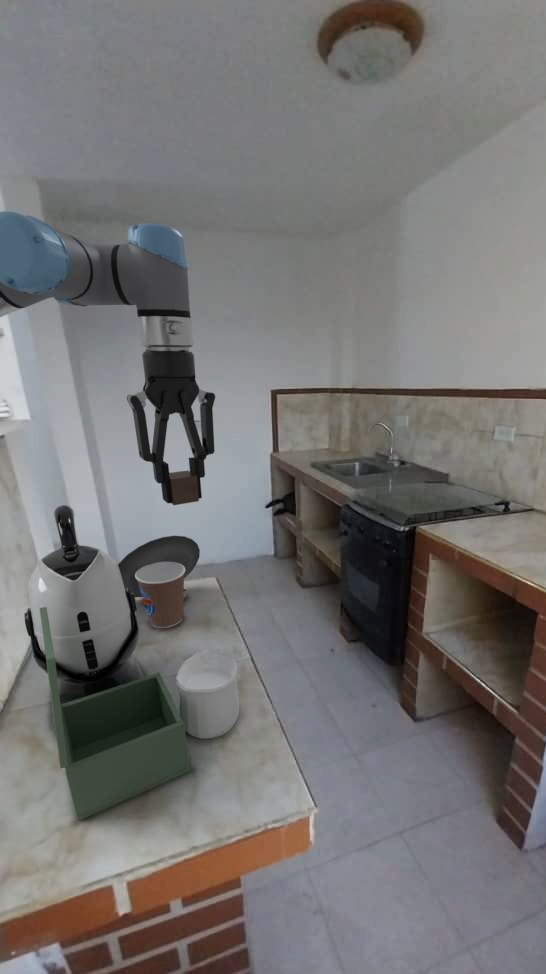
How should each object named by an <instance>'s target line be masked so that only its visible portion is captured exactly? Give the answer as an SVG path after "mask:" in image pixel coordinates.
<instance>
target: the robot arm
mask: <svg viewBox="0 0 546 974" xmlns="http://www.w3.org/2000/svg"><path fill="white" fill-rule="evenodd" d="M126 240H127V243H121V244H95V243H94V244H93V243H89V242H87V241H84V240H82V239H80V238H78V237H75V236H73V235H71V234H68V233H67V232H64V231H62V230H60V229H58V228H56V227H53V226H52V225H49V224H47V223H45V221H43V220H41V219H38V218H36V217H35V216H31V215H25V214H21V213H19V212H14V211H9V210H2V211H0V318H2V317H5V316H7V315H10V314H12V313H15V312H17V311H19V310H22V309H25V308H28V307H30V306H33V305H35V304H38V303H41V302H42V301H45V300H48V299H50V298H53V299H54V300H55V301H56V302H58V303H59V304H62V305H67V306H68V305H69V306H79V307H83V308H85V307H88V306H135V307H136V314H137V321H138V330H139V339H140V341H139V342H140V346H141V347H142V348H143V347H144V348H145V351H144V350H143V352H142V354H141V355H142V365H143V374H144V384H143V387H142V390H141V391H139V392H137V393H134V394H128V395H127V396H126V401H127V403H128V405H129V407H130V408H131V411H132V415H133V422H134V429H135V435H136V442H137V449H138V455H139V458H140V459H142V460H143V461H145V462H149V463H151V465H152V470H153V478H154V479H153V480H155V483H157V484H160V486H161V495H162V500H163V501H164V502H165V503H167V505H168V504H172V495H171V486H170V476H169V473H170V468H169V463H168V462H166V461H165V460H164V456H165V448H166V440H167V439H166V438H167V429H168V421H169V420H170V415H174V414H179V417H180V418H181V422H182V425H183V428H184V431H185V434H186V437H187V441H188V443H189V447H190V450H191V453H192V456H191V457H188V466H189V471H190V472H191V473H193V474H194V475H196V476H197V483H198V494H199V500H200V499H203V497H202V496H203V495H202V484H201V478H205V476H206V470H205V469H206V468H205V460H206V459H207V456H210V455H213V454H214V453H215V433H214V431H215V430H214V414H213V413H214V412H213V407H214V404H215V400H216V394H215V393H214V392H211V391H206V390H203V389H201V388H200V386H199V385H198V382H197V380H196V364H195V355H194V353H193V351H190V348H192V347H193V346H194V343H193V341H194V340H193V328H192V318H191V306H190V291H189V273H188V272H189V266H188V265H187V264H188V263H187V258H186V257H187V256H186V250H185V242H184V237H183V235H182V234H181V233H180V232H179V230H177V229H176V228H174V227H171V226H170V225H169V226H168V225H164V224H158V223H140V224H133V225H131V226H130V227H129V228H128V229H127V239H126ZM197 398H198V399H197ZM146 400H148V401H149V402H150V403H151V405H152V406H153V407H154V427H153V437H152V446H150V438H149V431H148V424H147V417H146V412H145V409H144V408H145V407H146V405H147V403H146ZM196 400H198V403H199V414H200V415H199V417H200V431H201V438H200V434H199V431H198V428H197V425H196V422H195V414H194V411H193V408H192V406H193V405H194V403H195V401H196Z"/></svg>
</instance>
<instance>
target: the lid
mask: <svg viewBox="0 0 546 974" xmlns="http://www.w3.org/2000/svg"><path fill="white" fill-rule="evenodd" d="M40 616H41V624H42V632H43V639H44V647H45V655H46V662H47V670H48V674H47V677H48V685H49V693H50V700H51V709H52V708H53V712H52V717H53V716H54V721H53V724H54V723H55V725H54V729H55V737H56V744H57V752H58V759H59V760H58V761H59V764H60V765H59V766H60V769H65V767H68V761H67V753H66V745H65V737H64V729H63V721H62V712H61V704H60V696H59V688H58V680H57V672H56V664H55V656H54V650H53V644H52V638H51V632H50V626H49V620H48V613H47V608H46V607H43V608H40Z"/></svg>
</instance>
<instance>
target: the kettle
mask: <svg viewBox="0 0 546 974" xmlns="http://www.w3.org/2000/svg"><path fill="white" fill-rule="evenodd" d="M75 515H76V513H75V510H74V508H73V507H71V506H70V505H67V504H61V505H58V506H57V507H55V509H54V511H53V517H54V520H55V524H56V525H55V526H56V528H57V532H58V536H59V540H60V545H61V547H60V548H57V549H56V550H54V551H51V552H50V553H48V554H47V555H45V556H44V557H42V558H40V559H39V562H38V564H36V566H35V568H34V569H33V570H32V572H31V574H30V577H29V580H28V599H29V606H30V607H28V608H27V610H26V612H24V615H23V616H24V624H25V628H26V633H27V635H28V637H29V638H30V642H31V649H32V655H33V658H34V662H35V663H36V665H37V666H38V667H39V668H40V669H41V670H42V671H43V672H44V673H46V674H47V675H48V670H47V662H46V655H45V647H44V639H43V632H42V624H41V616H40V608H43V607H46V608H47V613H48V620H49V626H50V632H51V638H52V644H53V650H54V656H55V664H56V672H57V680H58V688H59V696H60V704H61V705H62V704H65V703H68V702H71V701H74V700H77V699H80V698H83V697H86V696H89V695H92V694H95V693H98V692H101V691H104V690H107V689H110V688H113V687H116V686H119V685H122V684H125V683H128V682H131V681H135V680H138V679H141V678H144V677H145V675H144V673H143V671H142V669H141V667H140V666H139V664H138V662H137V661H136V660H135V658H134V657H133V654H134V653H135V651H136V649H137V647H138V644H139V641H140V628H139V623H138V619H137V615H136V612H137V611H138V610H137V609H138V608H137V601H136V597H134V593H133V591H132V590H130V589H129V587H127V590H125V588H124V584H123V580H122V576H121V573H120V569H119V566H118V564H119V563H117V562H116V560H115V559H114V558H113V557H112V556H110V555H109V554H108V553H106V552H104V551H103V550H102V549H101V548H97V547H94V546H89V545H82V544H81V545H80V544H78V539H77V533H76V525H75ZM107 672H108V673H107ZM104 673H107V674H106V675H104V676H103V677H102V678H99V679H97V680H94V681H92V680H91V681H85V680H82V679H83V678H93V677H97V676H99V675H102V674H104ZM51 709H52V710H51V712H52V713H53V708H52V707H51ZM52 720H53V725H54V726H55V723H54V716H53V715H52Z"/></svg>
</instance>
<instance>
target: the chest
mask: <svg viewBox="0 0 546 974" xmlns="http://www.w3.org/2000/svg"><path fill="white" fill-rule="evenodd" d="M61 712H62V721H63V729H64V737H65V745H66V753H67V761H68V767H65V768H64V771H65V775H66V779H67V782H68V787H69V790H70V794H71V798H72V801H73V806H74V809H75V812H76V816H77V817H76V818H77V821H82V820H84V819H87V818H89V817H91V816H93V815H95V814H97V813H100V812H102V811H105V810H107V809H108V808H109V809H110V808H111V807H113V806H116V805H117V804H120V803H122V802H125V801H127V800H129V799H131V798H133V797H135V796H137V795H140V794H142V793H144V792H146V791H149V790H152V789H153V788H156V787H158V786H160V785H162V784H165V783H167V782H170V781H171V780H174V779H175V778H177V777H180V776H182V775H184V774H187V773H189V772H191V767H190V760H189V752H188V744H187V743H188V742H187V736H186V731H185V727H184V723H183V721H182V718H181V716H180V711H179V709H178V708H177V706H176V704H175V702H174V699H173V698H172V695H171V693H170V691H169V689H168V687H167V685H166V683H165V681H164V679H163V677H162V675H161V673H160V672H157V673H153V674H150V675H146V676H144V678H141V679H138V680H135V681H131V682H128V683H125V684H122V685H119V686H116V687H113V688H110V689H107V690H104V691H101V692H98V693H95V694H92V695H89V696H86V697H83V698H80V699H77V700H74V701H71V702H68V703H65V704H62V705H61Z"/></svg>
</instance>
